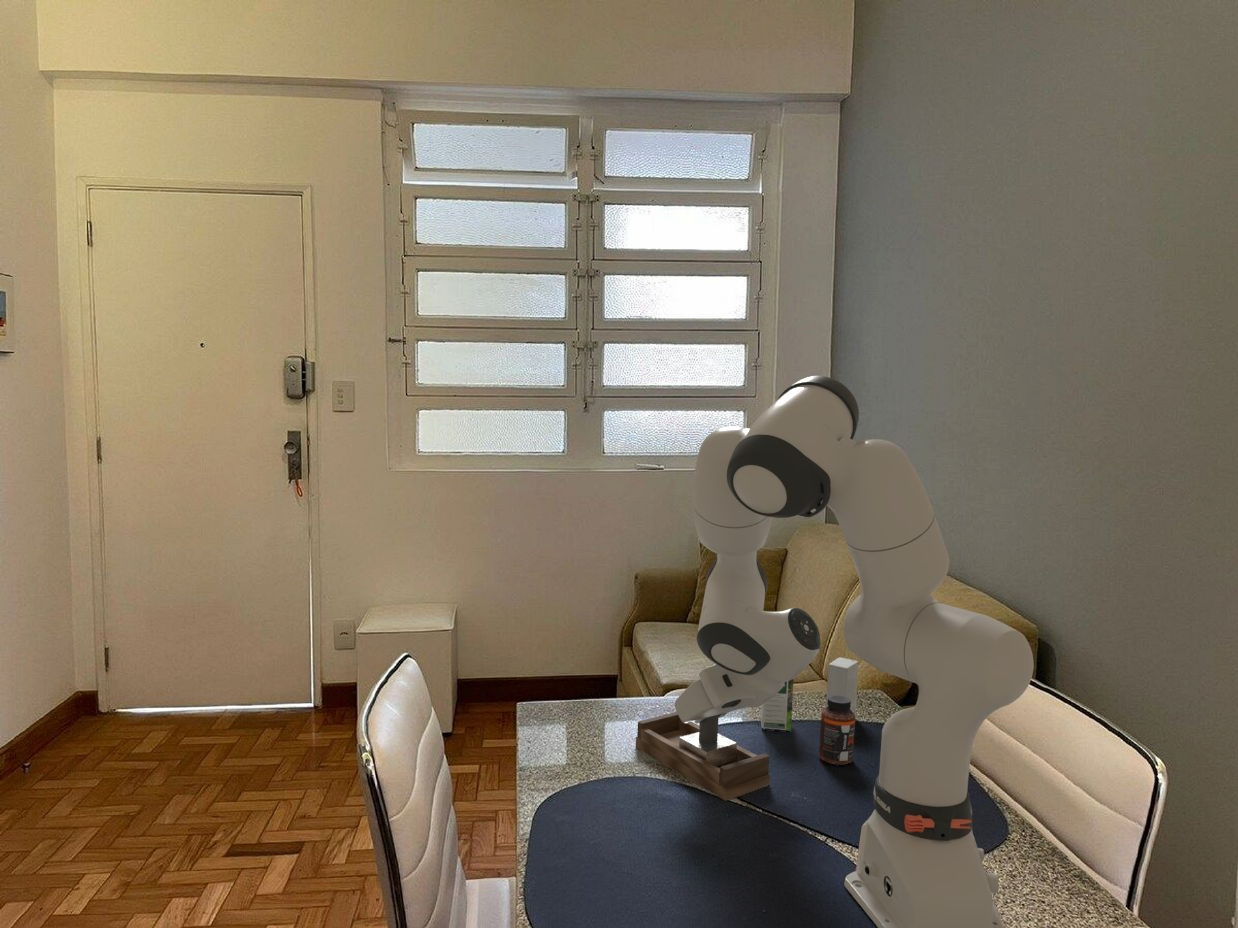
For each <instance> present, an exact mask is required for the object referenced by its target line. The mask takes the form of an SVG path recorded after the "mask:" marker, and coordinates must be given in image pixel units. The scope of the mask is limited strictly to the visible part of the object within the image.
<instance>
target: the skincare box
mask: <svg viewBox="0 0 1238 928" xmlns="http://www.w3.org/2000/svg"><path fill="white" fill-rule="evenodd" d="M858 670H859V660H854V659H849V658H845V657H841V656H840V657H837V658H836V659H835V660H833V661H832V662H830V663H828V664H827V682H826V683H827V685H826V703H825V706H826V707H828V704H827V703H828V697H829V696H834V695H837V696H844V697H847V698H849V699H850V700H851V707H850V709H851V711H853V712H854V714H855V717H856V713H857V693H858V672H859V671H858Z"/></svg>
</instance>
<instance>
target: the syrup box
mask: <svg viewBox="0 0 1238 928" xmlns="http://www.w3.org/2000/svg"><path fill="white" fill-rule="evenodd" d="M794 679H795V677H794V678H793V679H792V680H790V681H786V682H785V683H784V686H783V688H782V689H781V690H780V691H779V692H778V693H777V694H776V695H775V696H774V697H773V698H771V699H770V700H768V701H767V702H765V703H764V704H762V705H761V706H760V717H759V719H760V720H759V721H760V725H761V729H762V728H769V729H780V730H791V731H792V720H793V719H792V718H793V717H792V715H793V700H794V699H793V697H794Z"/></svg>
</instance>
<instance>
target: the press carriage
mask: <svg viewBox="0 0 1238 928" xmlns="http://www.w3.org/2000/svg"><path fill="white" fill-rule="evenodd" d="M719 719H720V718H719V715H715V716H711V717H707V719H706V720H705V721H704V722H701V723H699V724H698V725H699V732H697V733H694V734H690V735H686V736H683V737H680V738H679V746H680V747H682V748H684V749H685V750H687V751H689V752H691V753H693V754H694V755H696V756H698V757H700V758H702V759H703V760H705V761H707V762H709V763H710V764H712V765H714V766H718V765H721V764H724V763H728V762H731V761H734V760H736V754H737V745H738V743H737V742H736V741H734V740H732V739H730V738H728V737H726V736H724V735H722V734H720V733H719Z"/></svg>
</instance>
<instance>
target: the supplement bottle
mask: <svg viewBox="0 0 1238 928" xmlns="http://www.w3.org/2000/svg"><path fill="white" fill-rule="evenodd" d="M827 704H828V707H823V709H821V716H820V726H819V727H820V729H819V730H820V731H819V747H818V757H819V756H820V757H819V759H820V760H821V759H822V761H823V760H824V761H826V762H829V763H834V764H841V765H843V764H847V763H850V764H851V763H852V761H853V759H854V758H853V757H854V743H855V742H854V741H855V731H856V730H855V729H856V716H855V714H854V712H853V711H851V709H850V707H851V700H850V699H849V698H847V697H844V696H837V695H834V696H829V697H828V703H827ZM824 761H823V762H824ZM826 762H825V763H826ZM829 763H828V764H829Z"/></svg>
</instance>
